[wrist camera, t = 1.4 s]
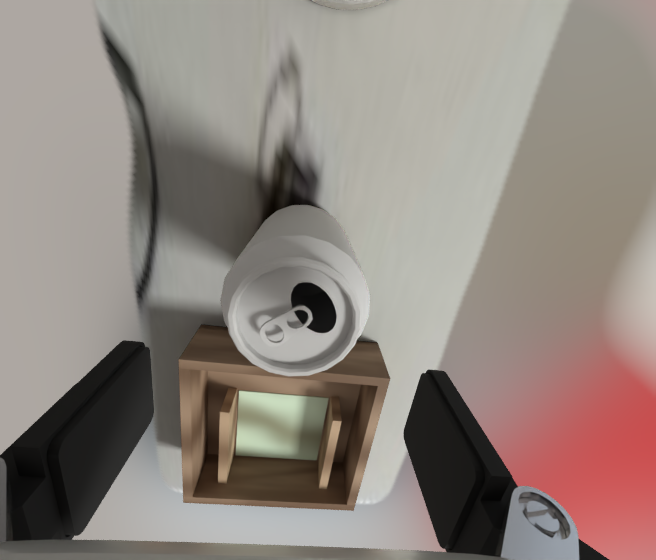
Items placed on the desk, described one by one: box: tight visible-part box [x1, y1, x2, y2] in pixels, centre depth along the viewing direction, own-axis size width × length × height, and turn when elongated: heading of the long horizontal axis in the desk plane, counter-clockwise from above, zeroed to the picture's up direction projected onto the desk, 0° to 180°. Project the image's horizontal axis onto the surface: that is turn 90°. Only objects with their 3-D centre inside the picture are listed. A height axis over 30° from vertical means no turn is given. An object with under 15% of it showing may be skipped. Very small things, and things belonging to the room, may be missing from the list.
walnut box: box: [179, 325, 390, 511], centre depth 29 cm, size 16×16×5 cm
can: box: [221, 205, 370, 376], centre depth 19 cm, size 8×8×12 cm
